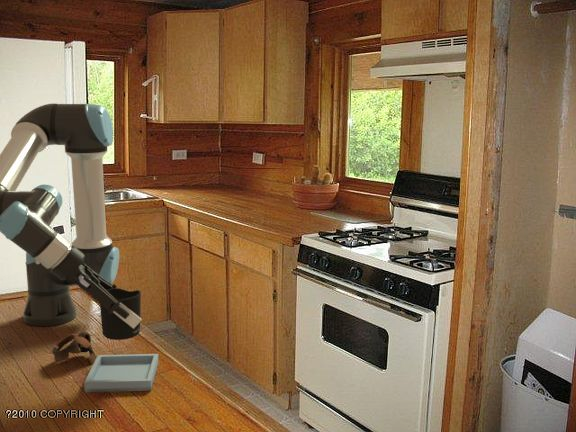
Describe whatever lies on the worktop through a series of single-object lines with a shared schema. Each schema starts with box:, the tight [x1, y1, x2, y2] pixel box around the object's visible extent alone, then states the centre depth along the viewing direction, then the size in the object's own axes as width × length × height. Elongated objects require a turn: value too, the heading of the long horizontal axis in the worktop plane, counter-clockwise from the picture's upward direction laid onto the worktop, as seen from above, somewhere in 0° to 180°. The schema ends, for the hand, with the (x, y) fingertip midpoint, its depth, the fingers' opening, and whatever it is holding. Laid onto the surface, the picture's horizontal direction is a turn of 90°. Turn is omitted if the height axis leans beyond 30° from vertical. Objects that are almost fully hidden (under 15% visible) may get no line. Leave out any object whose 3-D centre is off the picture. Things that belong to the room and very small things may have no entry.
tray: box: [83, 353, 159, 393], centre depth 146 cm, size 15×15×2 cm
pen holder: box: [99, 287, 142, 341], centre depth 143 cm, size 9×9×10 cm
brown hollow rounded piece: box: [51, 331, 97, 366], centre depth 154 cm, size 12×10×8 cm
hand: (134, 316), depth 144 cm, fingers closed on pen holder, 9 cm apart
